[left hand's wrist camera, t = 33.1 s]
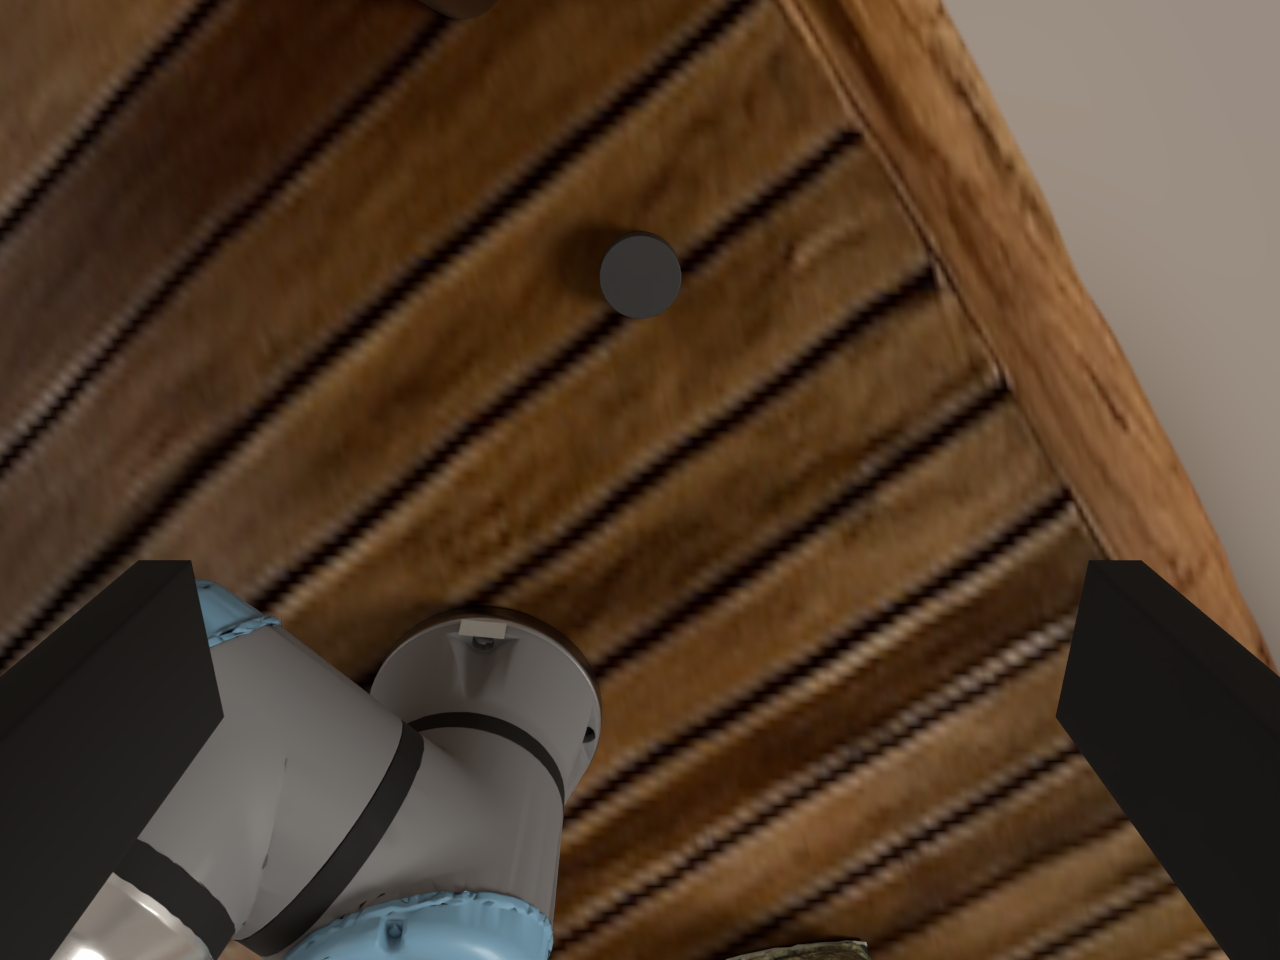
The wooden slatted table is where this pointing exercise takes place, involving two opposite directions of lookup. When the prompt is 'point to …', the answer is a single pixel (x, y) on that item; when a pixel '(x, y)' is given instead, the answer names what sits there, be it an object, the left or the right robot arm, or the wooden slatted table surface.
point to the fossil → (813, 952)
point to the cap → (640, 275)
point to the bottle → (460, 7)
